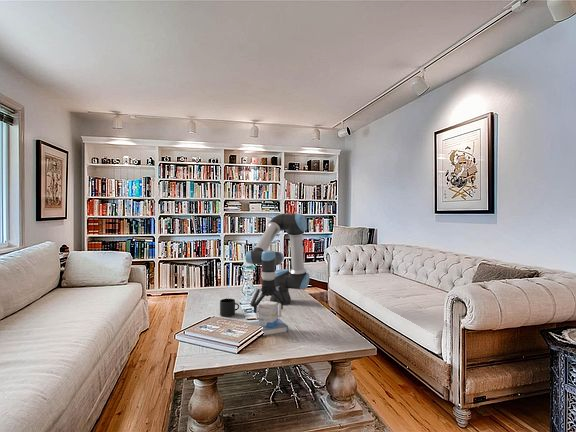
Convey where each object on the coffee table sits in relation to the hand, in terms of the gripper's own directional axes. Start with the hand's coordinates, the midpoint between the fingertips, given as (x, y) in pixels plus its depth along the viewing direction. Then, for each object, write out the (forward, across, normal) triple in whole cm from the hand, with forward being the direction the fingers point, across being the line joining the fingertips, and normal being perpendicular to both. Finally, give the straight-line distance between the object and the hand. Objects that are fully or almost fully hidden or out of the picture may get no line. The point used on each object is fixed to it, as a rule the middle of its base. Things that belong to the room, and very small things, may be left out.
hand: (268, 317), depth 178 cm
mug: (+7, +14, -34) cm, 38 cm away
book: (+8, 0, 0) cm, 8 cm away
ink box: (+4, 0, 0) cm, 4 cm away
